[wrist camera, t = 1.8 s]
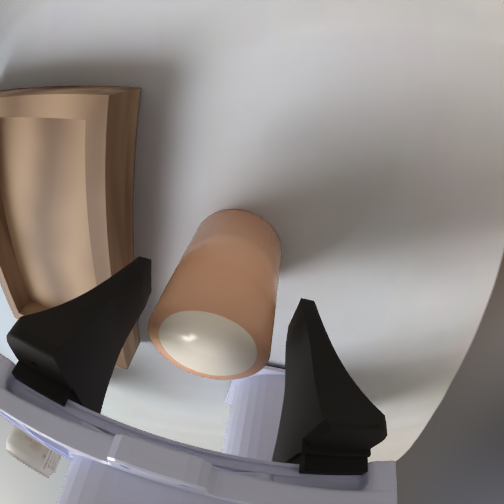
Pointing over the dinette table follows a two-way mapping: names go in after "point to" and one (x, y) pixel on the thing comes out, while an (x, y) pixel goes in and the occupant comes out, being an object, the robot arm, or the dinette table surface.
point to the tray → (66, 194)
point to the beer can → (32, 452)
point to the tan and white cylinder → (221, 299)
